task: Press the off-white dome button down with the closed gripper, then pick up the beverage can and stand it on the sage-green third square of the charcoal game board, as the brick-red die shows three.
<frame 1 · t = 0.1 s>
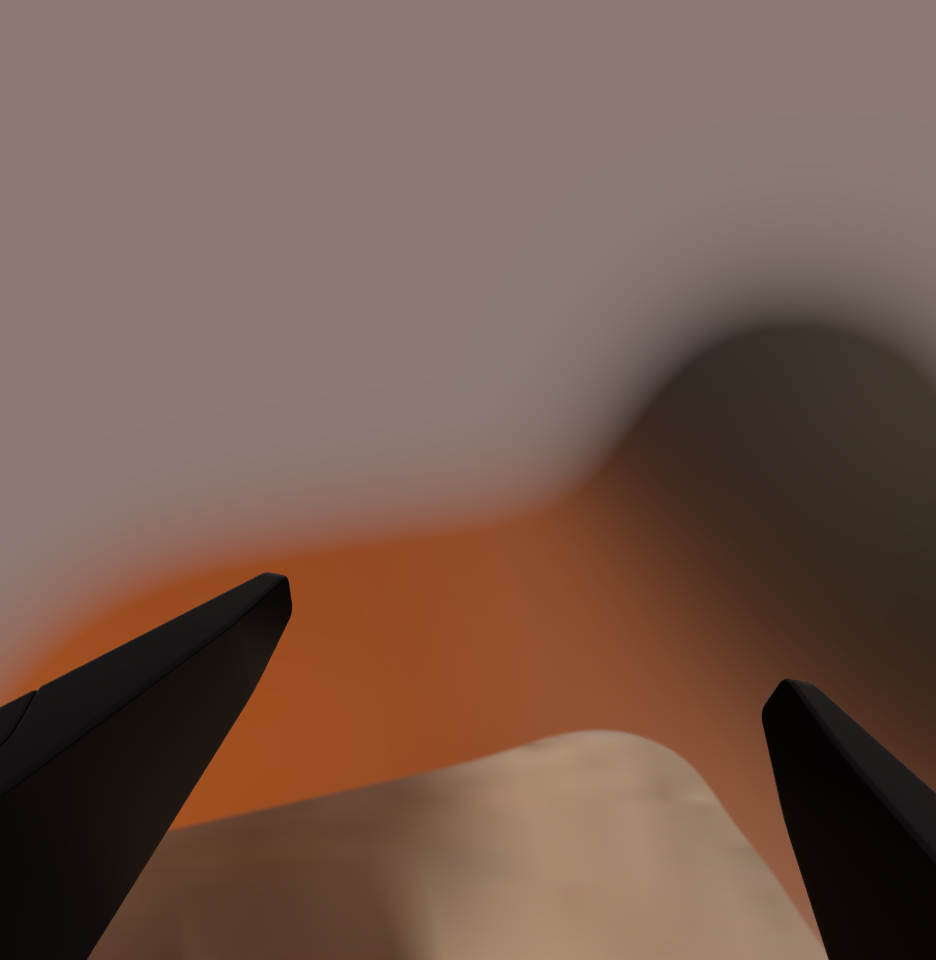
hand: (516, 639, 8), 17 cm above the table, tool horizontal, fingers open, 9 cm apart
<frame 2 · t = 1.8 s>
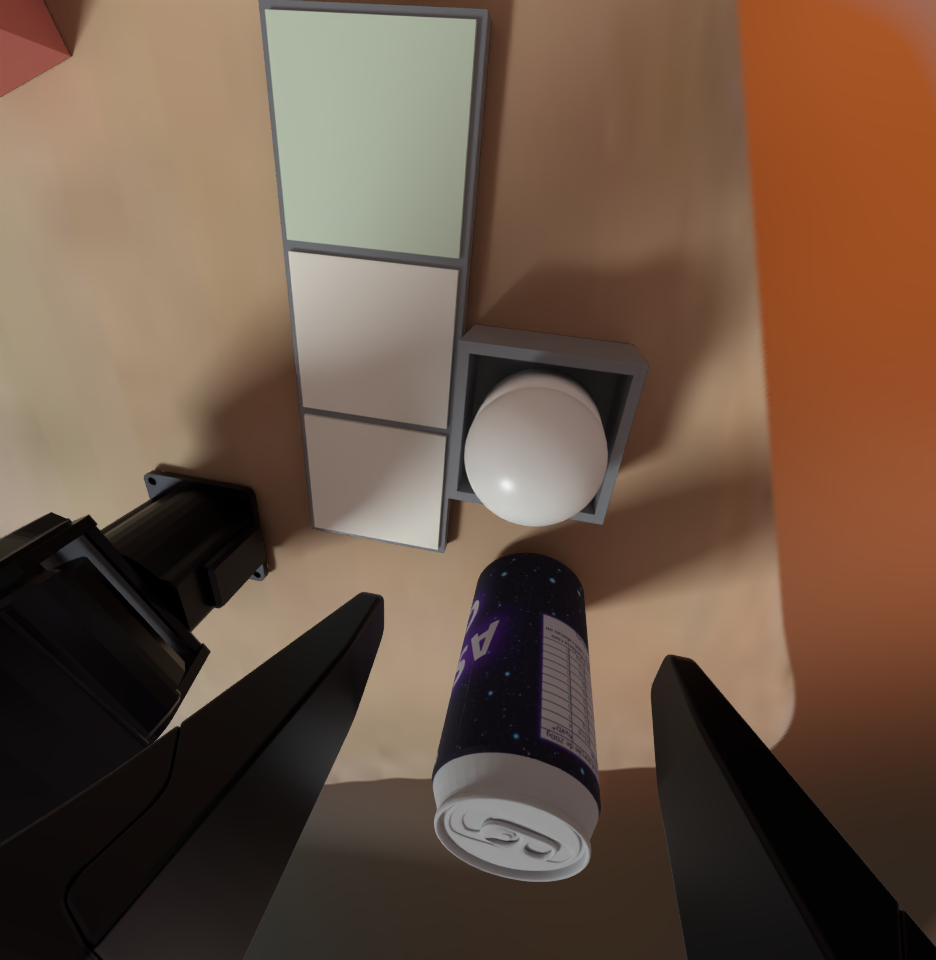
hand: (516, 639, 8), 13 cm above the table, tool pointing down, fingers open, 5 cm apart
dome: (534, 455, 15), point 5 cm above the table, slide at 0.0 cm
dome base: (539, 408, 19), on the table
beverage can: (530, 581, 24), on the table
game board: (380, 341, 19), on the table
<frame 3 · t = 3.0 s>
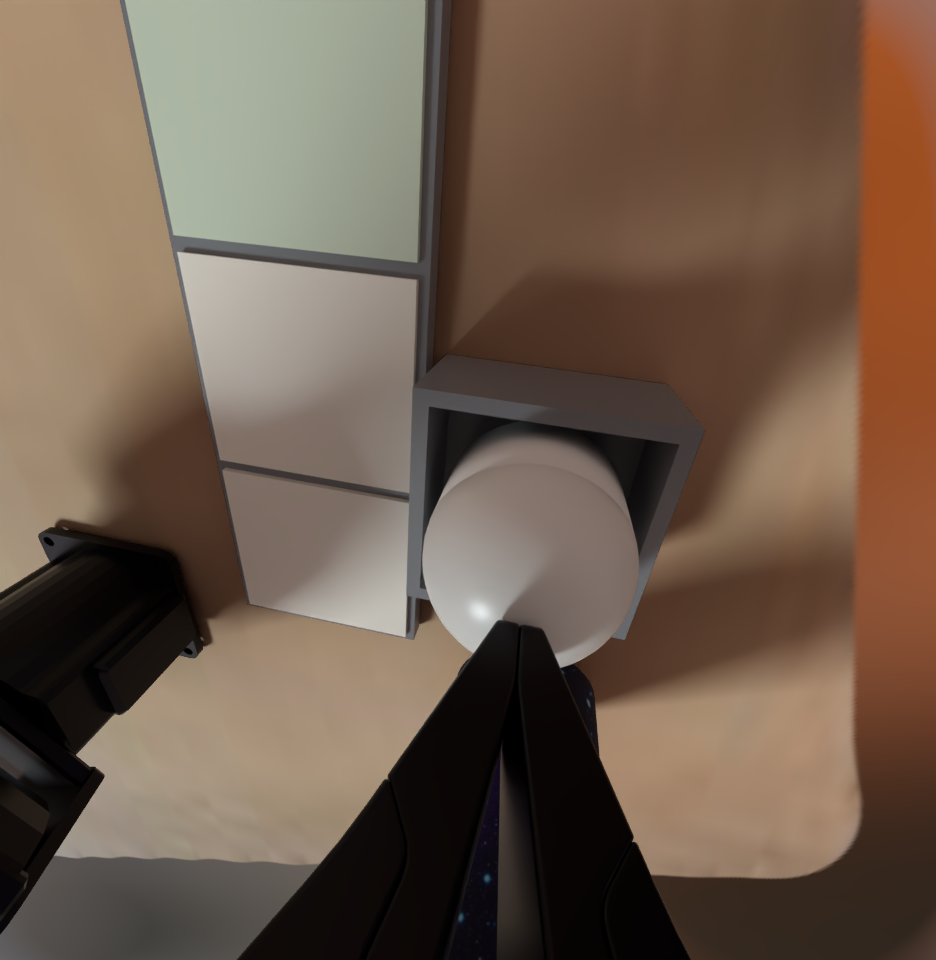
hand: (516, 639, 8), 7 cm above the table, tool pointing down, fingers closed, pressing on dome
dome: (527, 556, 10), point 5 cm above the table, slide at -0.3 cm, touching gripper
dome base: (535, 466, 14), on the table
beverage can: (525, 671, 19), on the table
game board: (319, 374, 14), on the table
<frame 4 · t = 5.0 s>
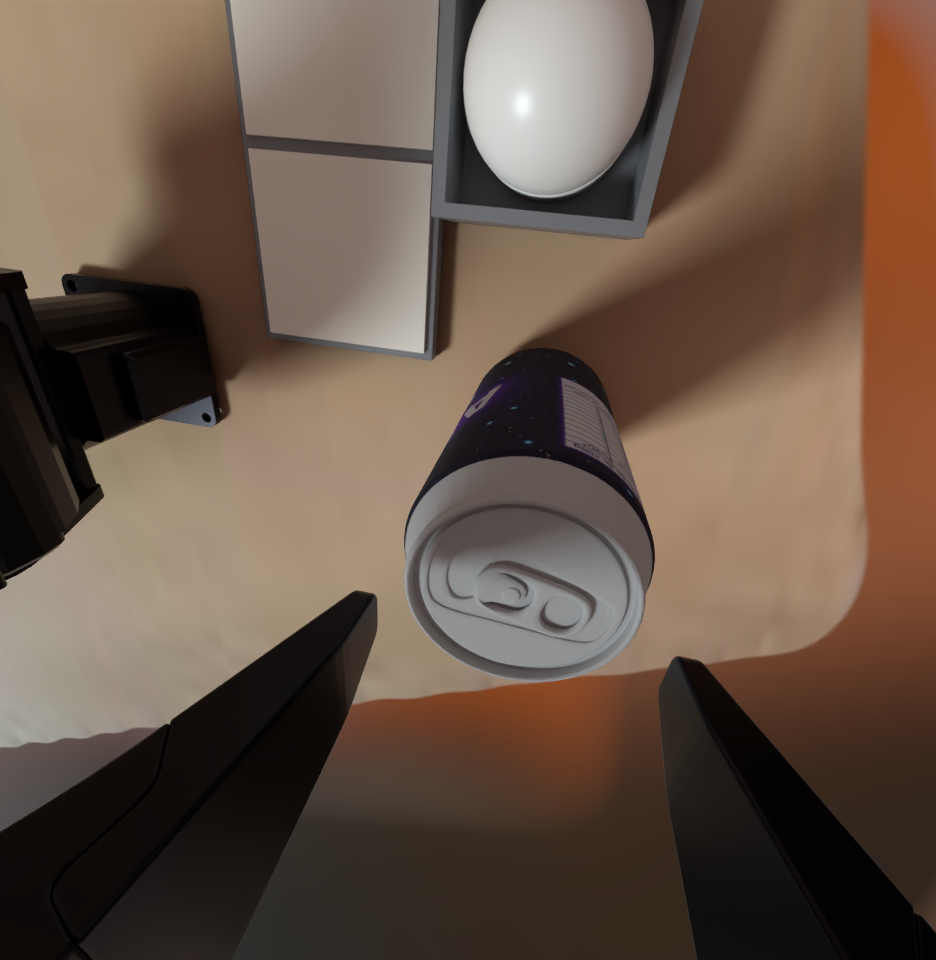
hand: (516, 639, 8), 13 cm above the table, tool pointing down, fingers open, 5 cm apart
dome: (554, 86, 11), point 4 cm above the table, slide at -1.4 cm
dome base: (555, 120, 15), on the table
beverage can: (539, 408, 19), on the table
game board: (345, 27, 14), on the table
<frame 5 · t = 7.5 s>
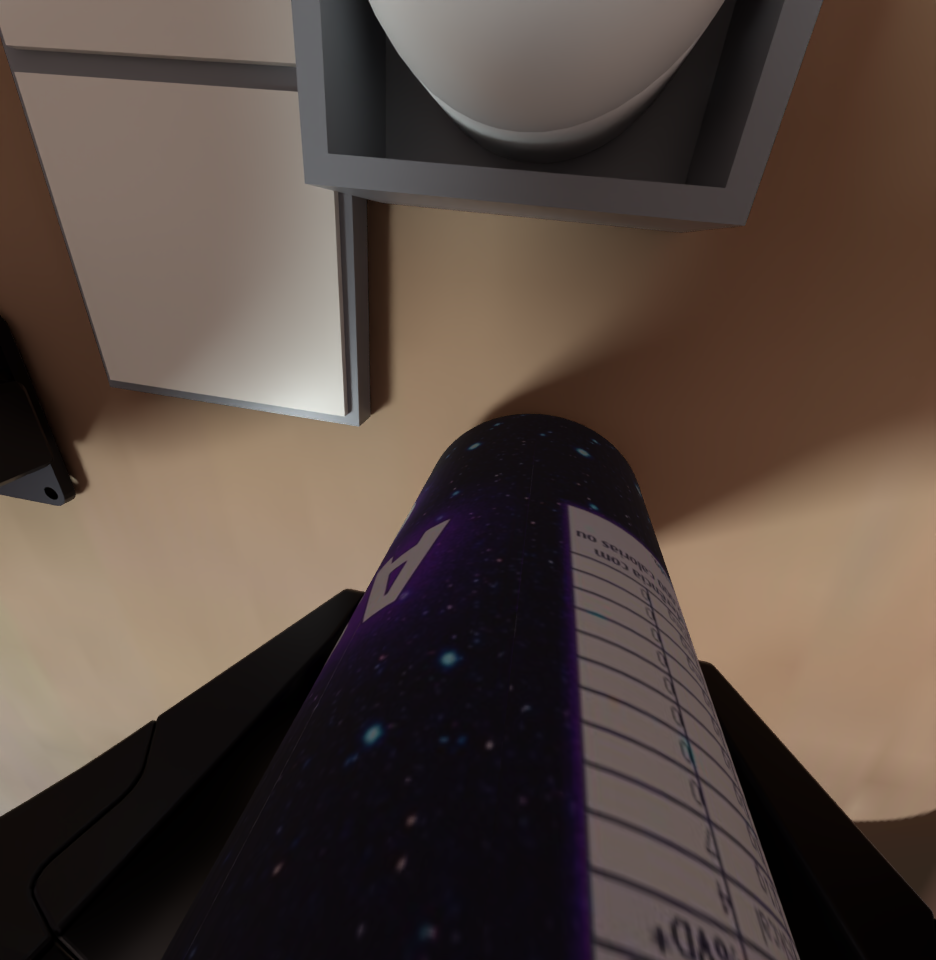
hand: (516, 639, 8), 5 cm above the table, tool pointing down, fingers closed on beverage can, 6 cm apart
dome base: (555, 9, 8), on the table
beverage can: (531, 493, 13), on the table, touching gripper
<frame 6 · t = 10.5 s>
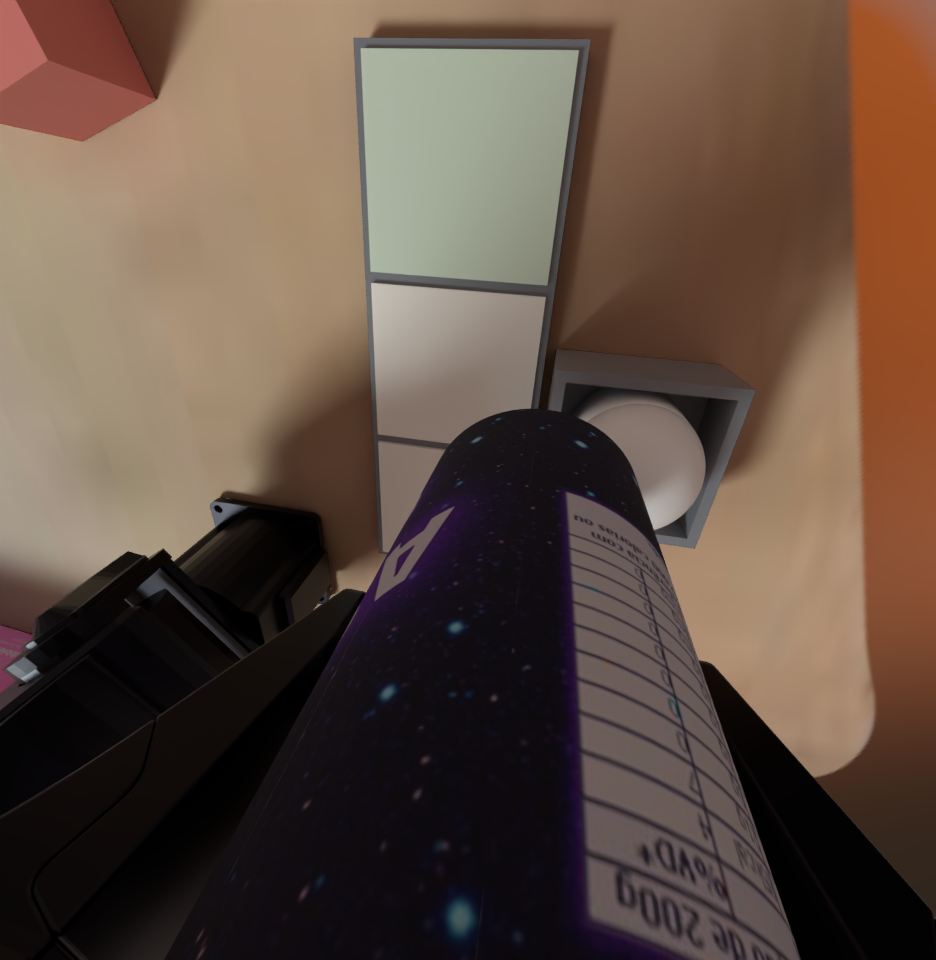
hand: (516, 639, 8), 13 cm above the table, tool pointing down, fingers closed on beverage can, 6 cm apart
die: (85, 56, 16), on the table
dome: (630, 466, 16), point 4 cm above the table, slide at -1.4 cm
dome base: (618, 430, 19), on the table
beverage can: (532, 487, 13), point 7 cm above the table, touching gripper
game board: (457, 367, 19), on the table
when the fingers open (7 cm above the table, at t = 13.4 s): beverage can stays where it is, resting on game board.
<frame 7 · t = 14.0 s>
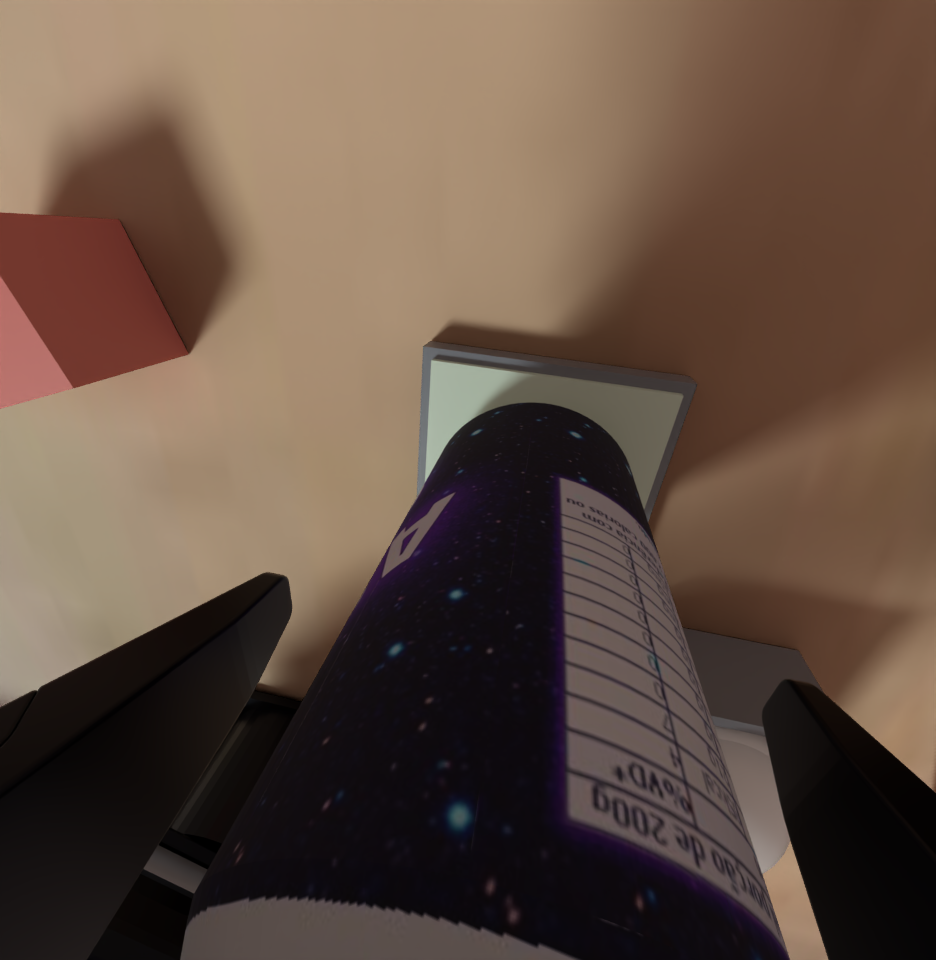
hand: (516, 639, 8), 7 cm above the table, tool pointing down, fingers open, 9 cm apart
die: (109, 306, 14), on the table
dome: (703, 781, 15), point 4 cm above the table, slide at -1.4 cm
dome base: (678, 687, 18), on the table
beverage can: (531, 479, 14), point 1 cm above the table, touching game board
game board: (506, 615, 18), on the table
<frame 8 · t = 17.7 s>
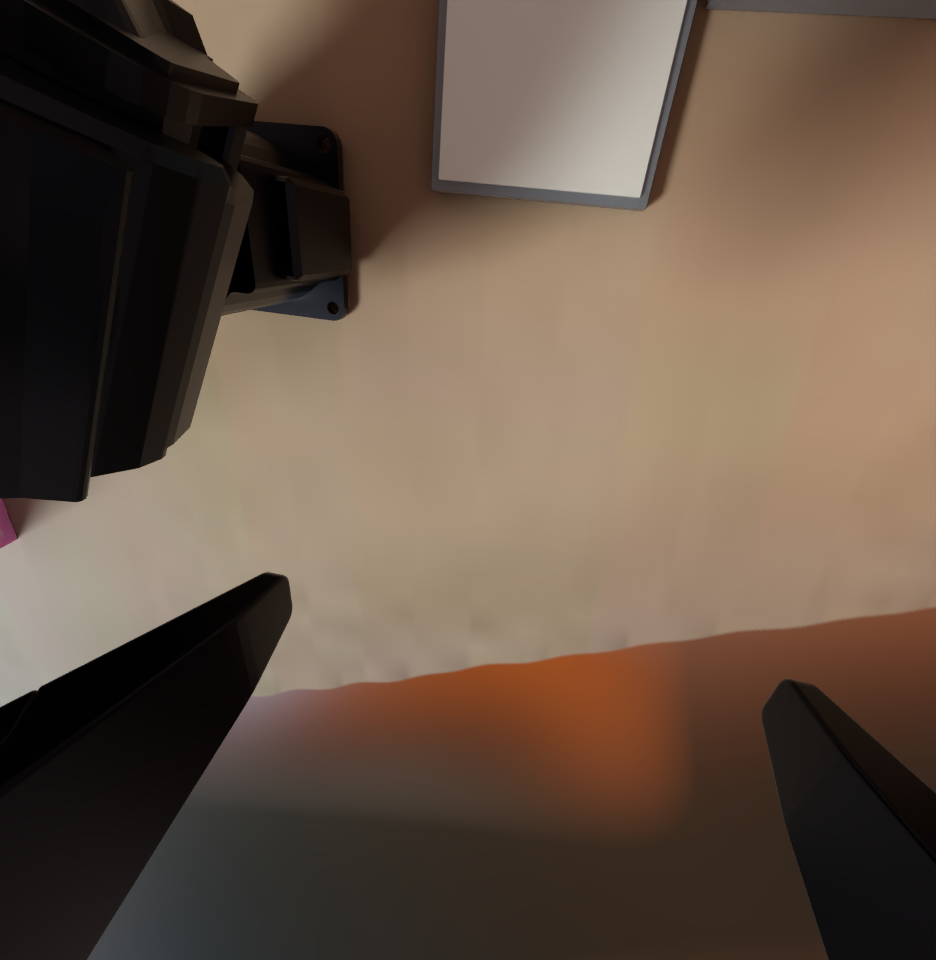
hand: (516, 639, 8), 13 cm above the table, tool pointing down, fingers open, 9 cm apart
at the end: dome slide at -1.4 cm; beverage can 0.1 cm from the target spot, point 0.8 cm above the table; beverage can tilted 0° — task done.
